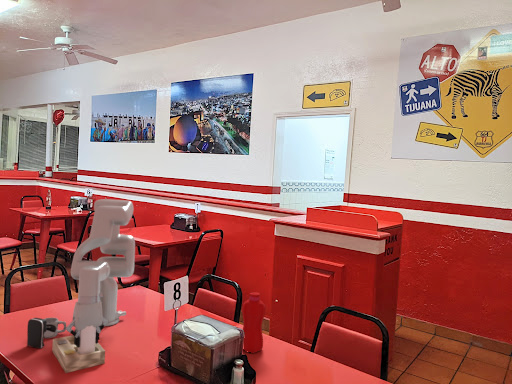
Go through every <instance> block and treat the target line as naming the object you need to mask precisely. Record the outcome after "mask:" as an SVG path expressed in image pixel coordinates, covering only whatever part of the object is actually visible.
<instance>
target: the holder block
mask: <svg viewBox="0 0 512 384" xmlns="http://www.w3.org/2000/svg"><path fill="white" fill-rule="evenodd" d="M51 351H52V353H53V355H54V357H55V358H56V359H57V362H58V364H60V366H61V368H62V369H63V371H64V373H65V374H68V373H71V372H75V371H79V370H84V369H88V368H91V367H96V366H99V365H104V364H106V349H104V348H103V347H102V345H101V344H100V343H99V342H98V343H97V344H96V343H95V352H91V353H86V354H82V355H79V354H78V348H77V346H76V345H74V336H73V335H72V334H71V335H68V336H63V337H57V338H52V349H51Z"/></svg>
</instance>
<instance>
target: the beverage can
mask: <svg viewBox="0 0 512 384" xmlns="http://www.w3.org/2000/svg"><path fill="white" fill-rule="evenodd" d="M79 337H80V347H79V348H78V354H79V355H82V354H86V353H91V352H95V341H96V327H93V325H91V326H86V328H85V329H83V330H81V332H80V334H79Z"/></svg>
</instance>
